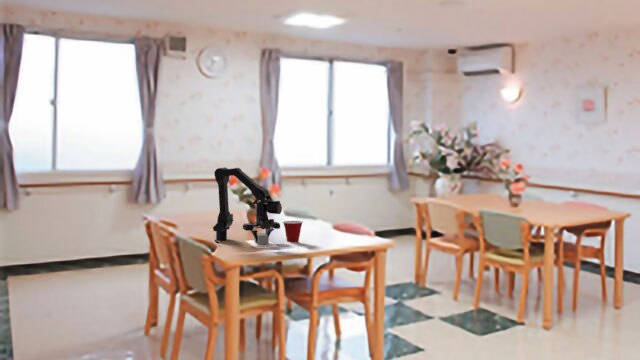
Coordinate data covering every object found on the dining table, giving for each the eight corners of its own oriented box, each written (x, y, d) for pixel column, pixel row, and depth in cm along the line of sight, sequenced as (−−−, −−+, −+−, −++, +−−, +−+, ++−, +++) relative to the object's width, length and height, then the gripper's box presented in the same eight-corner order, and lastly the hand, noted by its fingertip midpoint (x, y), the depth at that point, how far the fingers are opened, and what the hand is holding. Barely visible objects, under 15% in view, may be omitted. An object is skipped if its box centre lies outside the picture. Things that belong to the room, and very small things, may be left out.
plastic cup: (297, 240, 322) (297, 218, 321) (306, 244, 313) (306, 221, 312) (279, 241, 317) (279, 219, 316) (287, 245, 308) (288, 223, 306)
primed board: (245, 242, 312) (245, 240, 312) (266, 241, 317) (266, 239, 317) (256, 250, 294) (256, 248, 294) (279, 249, 299) (279, 246, 299)
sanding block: (254, 242, 309) (254, 233, 309) (263, 241, 311) (263, 233, 311) (259, 244, 302) (259, 236, 301) (268, 244, 304) (268, 235, 304)
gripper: (249, 216, 294) (248, 246, 295) (284, 214, 301) (283, 244, 303) (242, 212, 304) (242, 242, 305) (276, 211, 312) (276, 240, 313)
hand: (261, 242), depth 306 cm, fingers closed on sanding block, 5 cm apart
